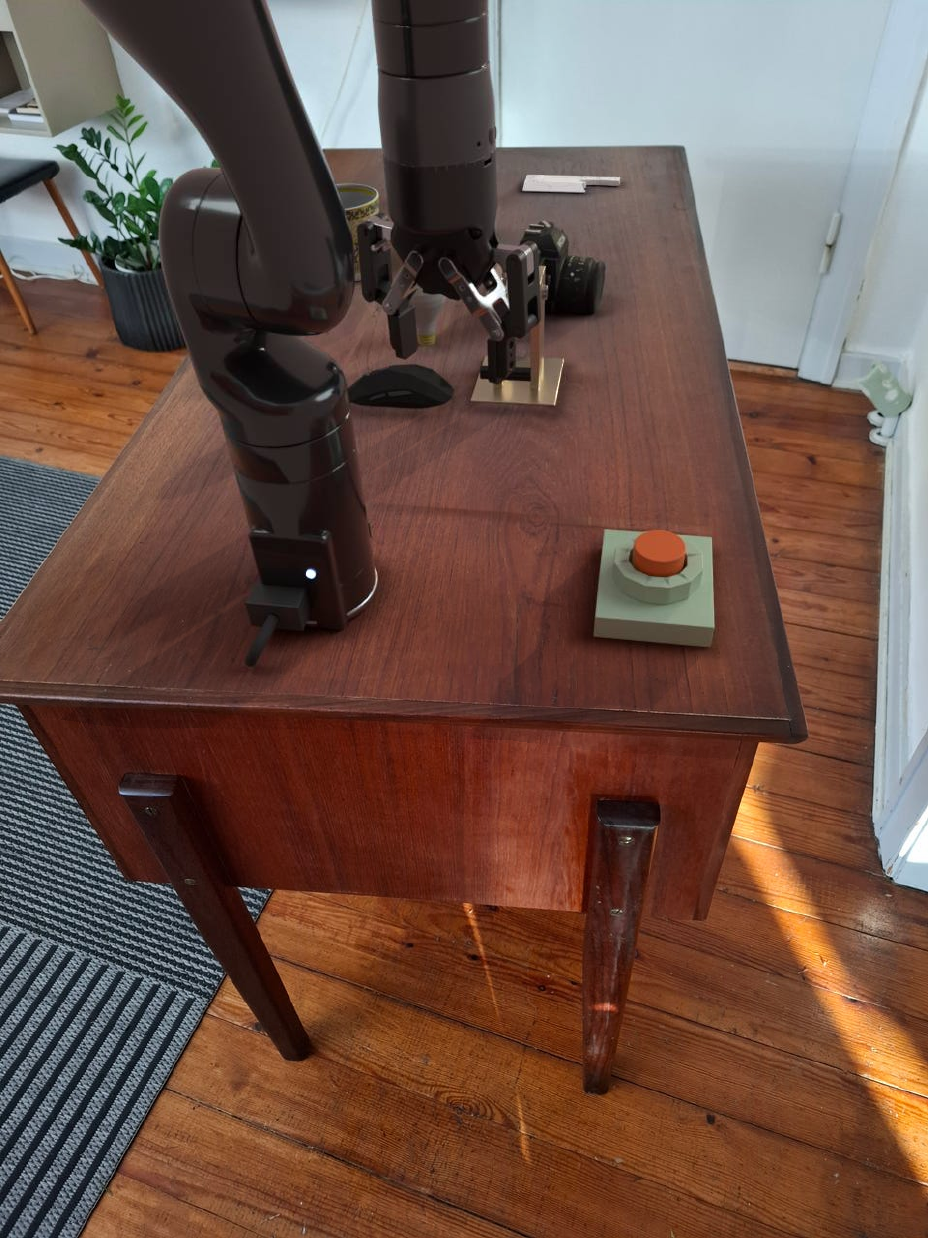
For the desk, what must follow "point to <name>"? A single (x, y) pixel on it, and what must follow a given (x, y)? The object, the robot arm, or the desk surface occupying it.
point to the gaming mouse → (401, 388)
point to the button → (659, 553)
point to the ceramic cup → (358, 211)
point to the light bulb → (426, 315)
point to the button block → (655, 595)
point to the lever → (518, 372)
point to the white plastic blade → (565, 183)
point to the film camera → (566, 271)
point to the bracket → (543, 369)
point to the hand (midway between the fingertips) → (452, 366)
